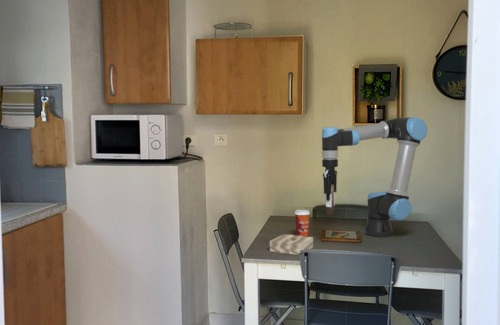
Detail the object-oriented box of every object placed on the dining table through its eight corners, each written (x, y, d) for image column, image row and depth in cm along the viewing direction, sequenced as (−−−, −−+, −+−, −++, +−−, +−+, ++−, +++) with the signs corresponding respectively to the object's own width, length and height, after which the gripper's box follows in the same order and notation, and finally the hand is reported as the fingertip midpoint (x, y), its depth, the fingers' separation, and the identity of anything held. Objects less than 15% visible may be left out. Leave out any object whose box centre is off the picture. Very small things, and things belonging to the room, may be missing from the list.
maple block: (313, 247, 248) (313, 237, 248) (299, 255, 235) (299, 244, 234) (284, 243, 256) (284, 234, 256) (269, 251, 243) (269, 241, 242)
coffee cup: (300, 241, 261) (300, 212, 260) (291, 237, 268) (291, 210, 267) (313, 239, 265) (313, 211, 263) (304, 235, 272) (304, 208, 271)
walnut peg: (334, 214, 246) (334, 184, 245) (332, 215, 243) (332, 185, 242) (328, 213, 248) (328, 184, 246) (325, 215, 245) (325, 185, 243)
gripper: (328, 157, 252) (329, 202, 254) (316, 160, 238) (316, 208, 240) (343, 157, 248) (343, 203, 250) (331, 160, 234) (331, 209, 236)
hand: (330, 206), depth 245 cm, fingers closed on walnut peg, 3 cm apart
